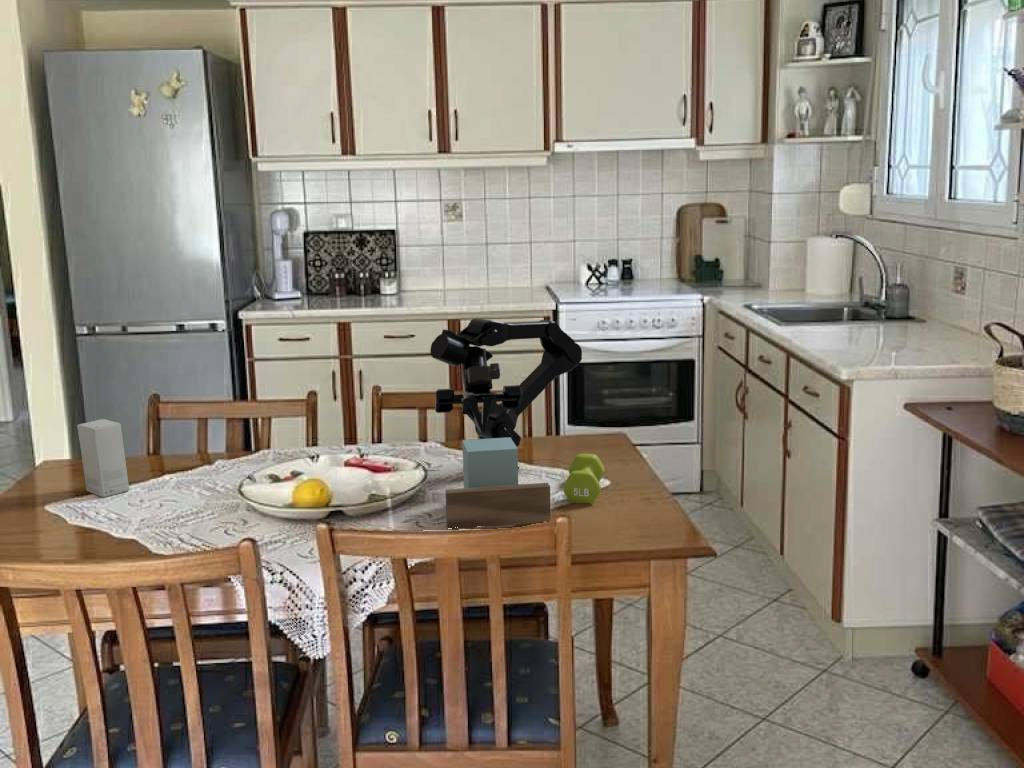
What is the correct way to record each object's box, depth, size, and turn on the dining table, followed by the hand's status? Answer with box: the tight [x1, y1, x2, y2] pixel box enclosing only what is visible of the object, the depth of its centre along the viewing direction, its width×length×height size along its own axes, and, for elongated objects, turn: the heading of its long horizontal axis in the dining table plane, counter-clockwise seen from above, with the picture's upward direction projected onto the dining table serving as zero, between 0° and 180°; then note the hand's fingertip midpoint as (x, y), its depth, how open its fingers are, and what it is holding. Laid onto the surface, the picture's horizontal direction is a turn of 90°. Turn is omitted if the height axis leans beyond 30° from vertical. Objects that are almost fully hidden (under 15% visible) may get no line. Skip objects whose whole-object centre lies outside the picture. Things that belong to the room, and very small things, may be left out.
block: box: [461, 437, 519, 488], centre depth 201 cm, size 9×10×13 cm
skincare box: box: [76, 418, 130, 498], centre depth 218 cm, size 8×7×16 cm
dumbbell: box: [562, 453, 606, 506], centre depth 210 cm, size 16×8×7 cm, turn 171°
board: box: [445, 482, 552, 530], centre depth 191 cm, size 2×20×8 cm, turn 99°
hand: (482, 432), depth 210 cm, fingers closed
